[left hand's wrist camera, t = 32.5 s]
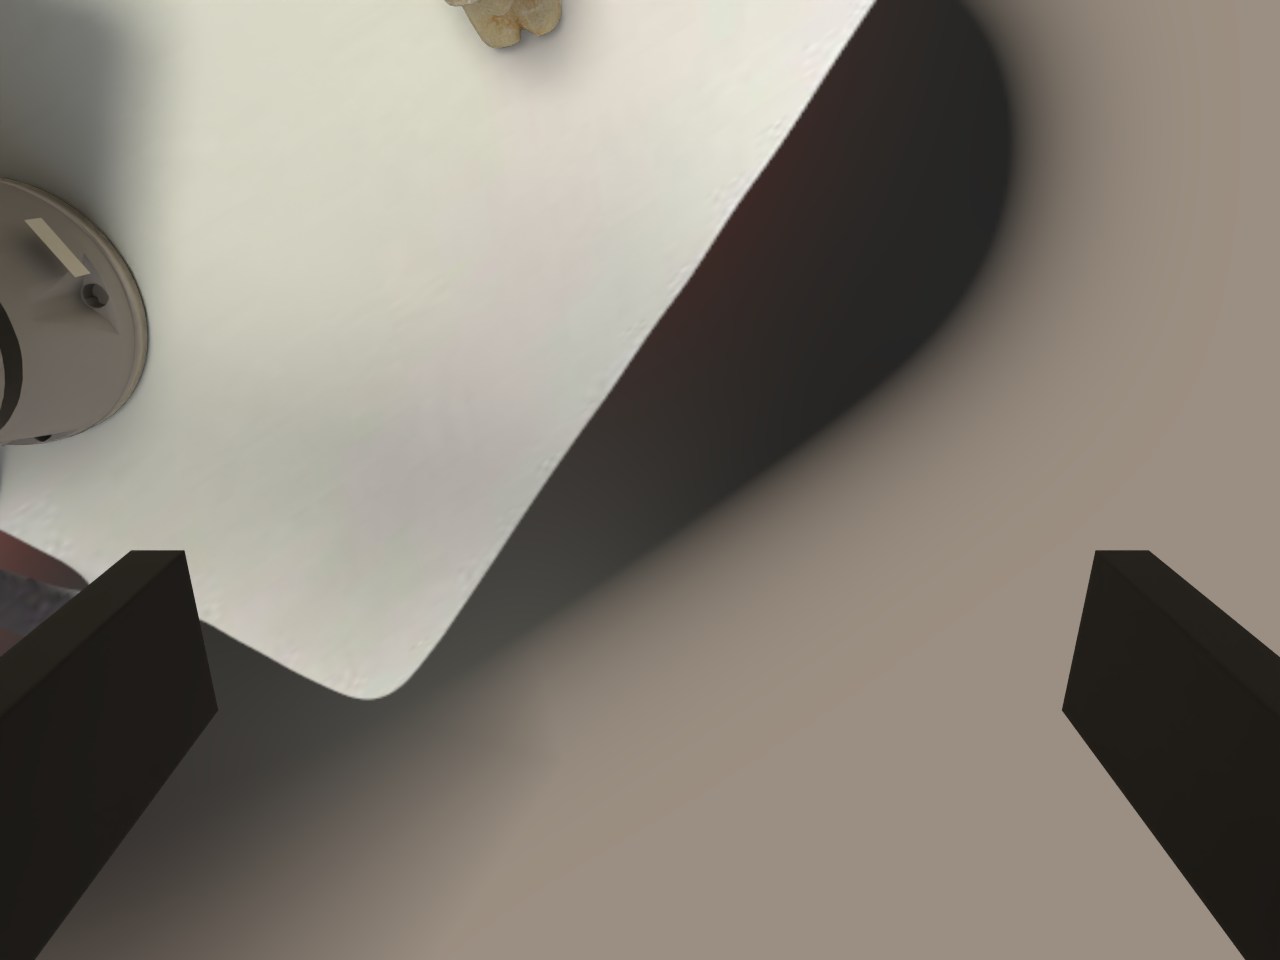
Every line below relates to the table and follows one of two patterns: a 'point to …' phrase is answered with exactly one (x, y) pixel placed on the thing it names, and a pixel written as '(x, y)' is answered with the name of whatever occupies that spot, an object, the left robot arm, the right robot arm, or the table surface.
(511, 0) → the sculpture
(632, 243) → the table surface
